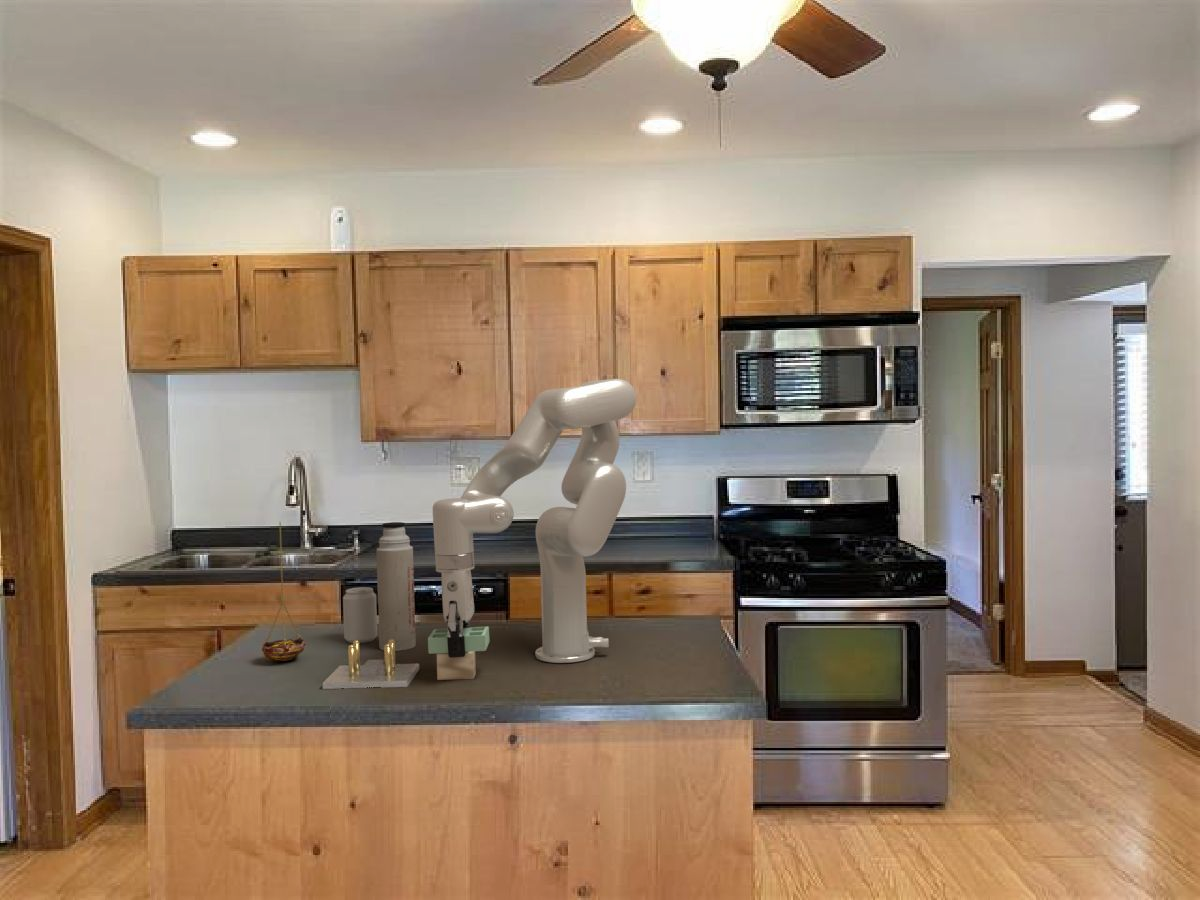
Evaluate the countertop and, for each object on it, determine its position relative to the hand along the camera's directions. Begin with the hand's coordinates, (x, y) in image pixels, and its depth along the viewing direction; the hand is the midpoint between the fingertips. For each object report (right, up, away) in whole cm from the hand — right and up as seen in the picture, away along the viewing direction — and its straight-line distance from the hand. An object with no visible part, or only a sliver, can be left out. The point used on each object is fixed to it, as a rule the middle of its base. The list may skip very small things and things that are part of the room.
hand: (459, 650), depth 176 cm
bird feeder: (-40, -6, +15) cm, 43 cm away
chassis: (-17, -5, -1) cm, 18 cm away
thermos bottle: (-18, -5, +25) cm, 31 cm away
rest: (-1, -5, 0) cm, 5 cm away
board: (0, +1, 0) cm, 1 cm away
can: (-28, -5, +32) cm, 43 cm away
